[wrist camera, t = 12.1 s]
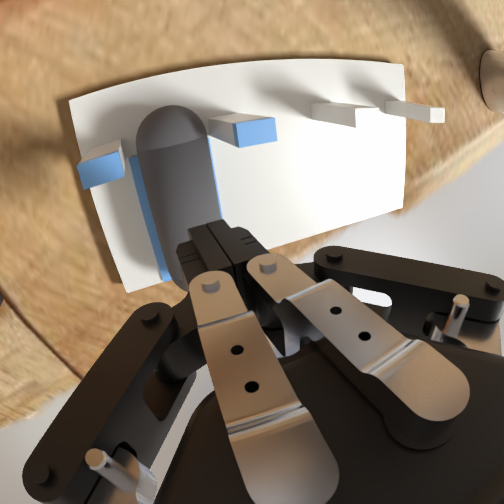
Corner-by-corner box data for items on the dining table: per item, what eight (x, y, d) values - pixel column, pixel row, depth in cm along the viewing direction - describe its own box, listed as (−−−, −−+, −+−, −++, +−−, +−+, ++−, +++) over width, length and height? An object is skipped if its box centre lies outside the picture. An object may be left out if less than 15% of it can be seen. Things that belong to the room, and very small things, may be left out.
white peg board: (393, 64, 22) (454, 68, 16) (394, 203, 29) (444, 229, 24) (72, 100, 15) (45, 99, 10) (126, 284, 22) (131, 344, 17)
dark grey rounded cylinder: (131, 113, 16) (126, 116, 13) (195, 99, 17) (207, 98, 14) (172, 279, 22) (179, 313, 19) (225, 265, 23) (240, 296, 20)
